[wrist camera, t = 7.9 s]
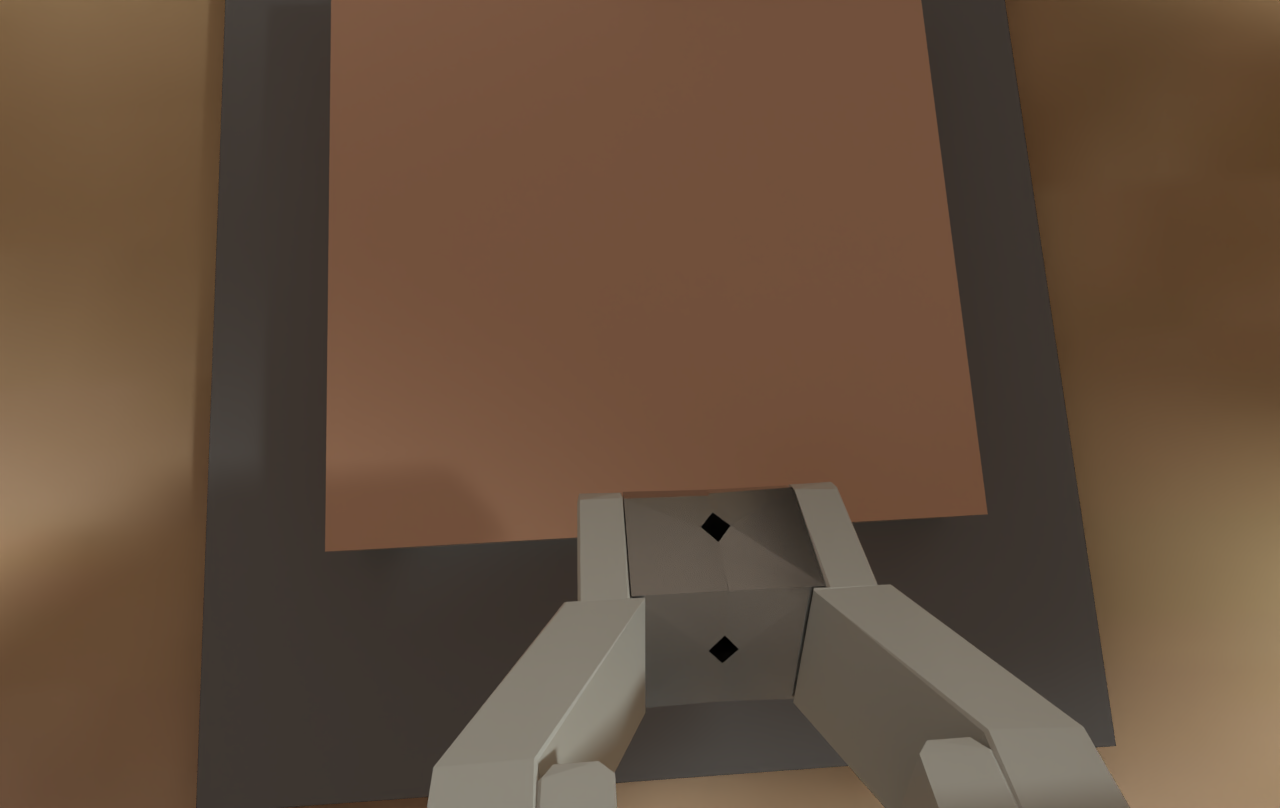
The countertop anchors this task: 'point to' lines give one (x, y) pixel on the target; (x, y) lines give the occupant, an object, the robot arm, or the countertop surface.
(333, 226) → the tile
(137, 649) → the countertop surface
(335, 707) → the mat
